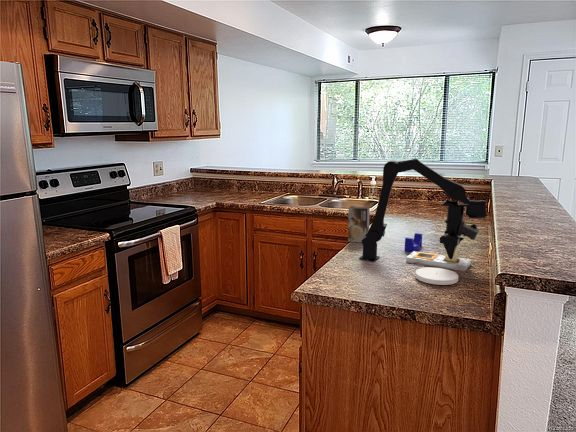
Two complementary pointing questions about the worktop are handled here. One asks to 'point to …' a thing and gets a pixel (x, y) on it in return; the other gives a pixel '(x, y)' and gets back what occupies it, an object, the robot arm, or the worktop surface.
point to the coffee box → (358, 223)
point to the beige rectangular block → (455, 256)
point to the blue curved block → (413, 243)
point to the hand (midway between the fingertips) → (451, 257)
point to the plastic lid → (436, 276)
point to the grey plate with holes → (437, 261)
